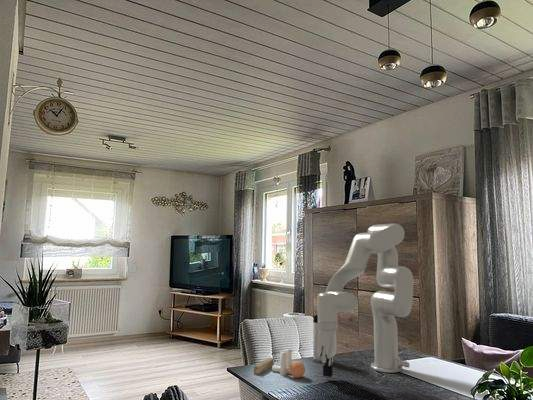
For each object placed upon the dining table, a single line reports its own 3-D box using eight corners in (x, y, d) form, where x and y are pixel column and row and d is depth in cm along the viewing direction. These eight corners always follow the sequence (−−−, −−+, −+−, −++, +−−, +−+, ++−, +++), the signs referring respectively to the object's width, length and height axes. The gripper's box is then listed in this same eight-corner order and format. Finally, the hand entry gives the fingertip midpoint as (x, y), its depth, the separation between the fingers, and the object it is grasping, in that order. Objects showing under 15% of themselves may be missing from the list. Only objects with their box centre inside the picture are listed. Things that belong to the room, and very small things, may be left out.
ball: (290, 368, 156) (305, 371, 155) (288, 379, 151) (303, 382, 150) (291, 356, 154) (306, 359, 153) (289, 367, 149) (305, 370, 148)
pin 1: (287, 374, 155) (287, 352, 156) (284, 376, 153) (285, 353, 154) (281, 373, 156) (281, 351, 157) (279, 375, 154) (279, 352, 155)
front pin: (293, 367, 157) (274, 364, 161) (291, 368, 155) (271, 365, 159) (293, 373, 157) (274, 370, 160) (291, 375, 155) (271, 372, 158)
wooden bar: (273, 365, 167) (273, 358, 167) (258, 374, 154) (258, 366, 155) (269, 365, 168) (269, 357, 168) (253, 374, 155) (253, 366, 156)
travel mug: (327, 363, 172) (327, 315, 174) (312, 362, 173) (312, 315, 175) (328, 359, 178) (328, 313, 180) (313, 358, 179) (313, 313, 182)
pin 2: (292, 371, 160) (292, 349, 161) (290, 372, 157) (290, 350, 159) (287, 370, 161) (287, 348, 162) (284, 371, 159) (284, 349, 160)
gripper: (324, 321, 160) (324, 369, 158) (311, 328, 147) (311, 380, 144) (342, 323, 157) (343, 372, 154) (331, 330, 143) (331, 383, 141)
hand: (327, 375), depth 149 cm, fingers closed
